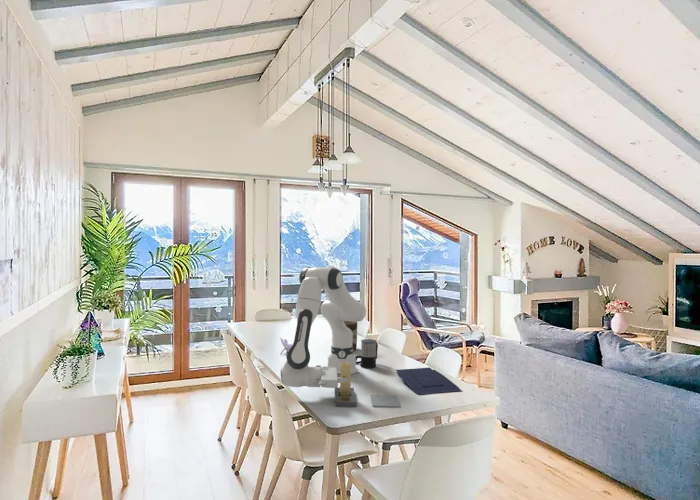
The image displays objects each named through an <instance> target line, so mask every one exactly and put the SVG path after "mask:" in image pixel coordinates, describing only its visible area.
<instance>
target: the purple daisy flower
mask: <svg viewBox="0 0 700 500" xmlns="http://www.w3.org/2000/svg"><path fill="white" fill-rule="evenodd" d="M279 338H280V339H279V340H280V342H281V345H282V346H283V349H282V351H281V352H280V355H282V354H283V353H284V350H285V352H287V353H288V351H289V350H290V348H291V347H292V345H293V343H292V344H291V343H288V340H287V339H286V338H282V337H279Z"/></svg>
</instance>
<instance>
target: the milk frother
mask: <svg viewBox="0 0 700 500" xmlns="http://www.w3.org/2000/svg"><path fill="white" fill-rule="evenodd" d="M360 342H361V346H360V349H361V350H360V352H361V353H360V355H357V356H355V355H354V356H355V358H356V365H357V364H360V365H359V366H360V367H361V368H364V369H375V368H377V358H378V348H379V345H378V340H376V339H372V338H365V339H361V340H360ZM358 359H360V360H358Z"/></svg>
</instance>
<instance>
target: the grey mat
mask: <svg viewBox="0 0 700 500" xmlns="http://www.w3.org/2000/svg"><path fill="white" fill-rule="evenodd" d="M370 398H371V405H372V407H373V408H401V404H400V401H399V398H398V395H397V394H396V395H392V394H391V395H390V394H370Z"/></svg>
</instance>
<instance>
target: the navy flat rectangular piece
mask: <svg viewBox="0 0 700 500" xmlns="http://www.w3.org/2000/svg"><path fill="white" fill-rule="evenodd" d="M395 371H396V372H395V373H396V374H397V376H398V377H399V378H400V379H401V380H402V381H403V382H404V383H405V384H406V385H408V387H410V388H411V390H412V391H413V392H414V393H416V394H417V395H419V396H421V395H422V396H423V395H431V394H438V393H439V394H440V393H451V392H453V393H454V392H463V390H462V389H460V387H458V385H457V384H455V383H454V382H453V381H451V380H450V379H449V378H447V376H445V375H444V374H443V373H441V372H439V371H438V370H436V369H432V368H431V367H417V368H406V369H405V368H404V369H395Z"/></svg>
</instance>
